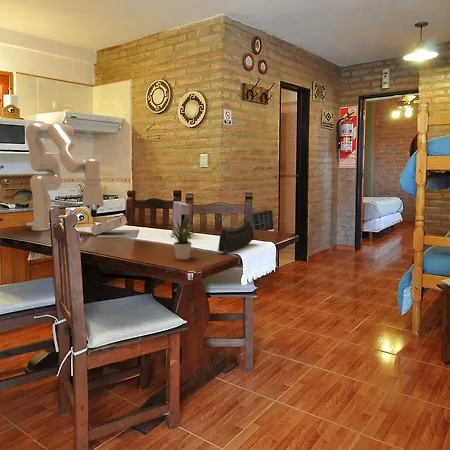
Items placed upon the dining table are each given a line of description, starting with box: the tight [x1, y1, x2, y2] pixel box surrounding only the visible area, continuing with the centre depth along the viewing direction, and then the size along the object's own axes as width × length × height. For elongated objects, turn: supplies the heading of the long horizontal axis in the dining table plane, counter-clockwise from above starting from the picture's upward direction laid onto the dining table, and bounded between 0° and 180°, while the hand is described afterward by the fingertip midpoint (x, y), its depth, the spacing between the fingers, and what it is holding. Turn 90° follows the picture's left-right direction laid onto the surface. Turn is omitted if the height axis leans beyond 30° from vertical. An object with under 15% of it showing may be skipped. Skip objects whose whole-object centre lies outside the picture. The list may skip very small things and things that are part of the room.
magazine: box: [217, 221, 255, 253], centre depth 200 cm, size 17×3×30 cm
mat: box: [96, 229, 140, 239], centre depth 240 cm, size 20×24×1 cm
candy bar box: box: [90, 214, 128, 237], centre depth 238 cm, size 11×5×16 cm
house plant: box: [167, 219, 199, 260], centre depth 178 cm, size 14×14×16 cm
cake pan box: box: [171, 201, 190, 239], centre depth 235 cm, size 19×5×18 cm, turn 20°
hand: (93, 217), depth 238 cm, fingers closed
